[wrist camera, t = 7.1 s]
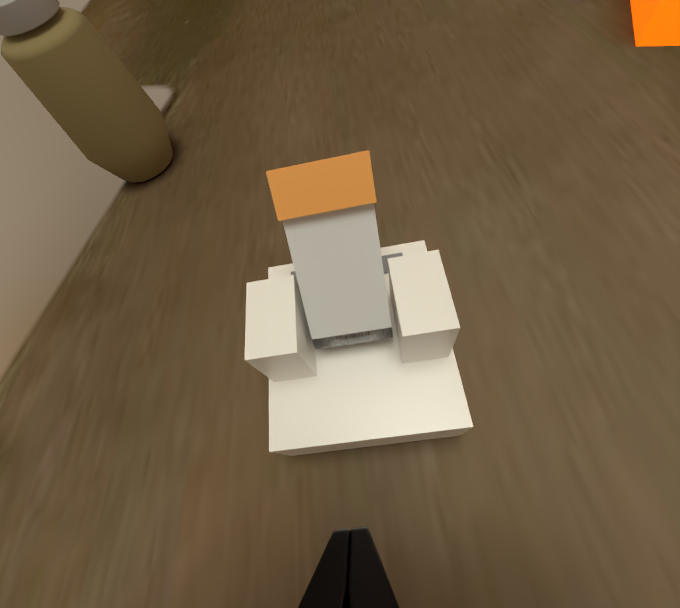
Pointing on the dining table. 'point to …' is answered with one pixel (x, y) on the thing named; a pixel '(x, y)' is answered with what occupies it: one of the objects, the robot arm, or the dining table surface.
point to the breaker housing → (360, 363)
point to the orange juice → (656, 22)
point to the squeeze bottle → (85, 88)
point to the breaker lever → (335, 247)
